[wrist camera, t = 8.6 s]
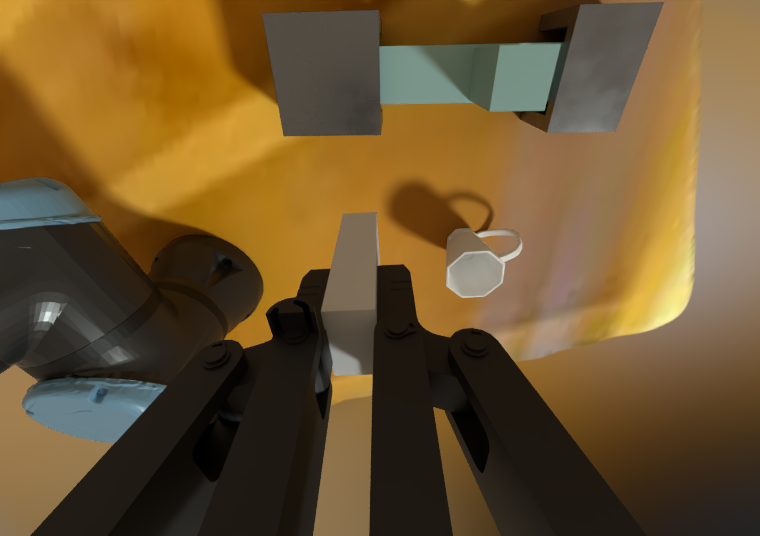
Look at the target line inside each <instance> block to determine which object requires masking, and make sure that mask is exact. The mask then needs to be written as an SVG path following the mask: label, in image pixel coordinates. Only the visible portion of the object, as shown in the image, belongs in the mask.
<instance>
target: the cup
mask: <svg viewBox="0 0 760 536" xmlns="http://www.w3.org/2000/svg"><path fill="white" fill-rule="evenodd" d="M493 235H512V236H514V237H516V238H518V244H517V246H516V247H515V249H514V250H512V251H510V252H507V253H503V254H499V255H497V254H496V253H495V252H494V251H493V250H492V249H491V248H490V246H489V245H487V244H486V243H485V242H484V241H483V240H482V239H480V238H482V237H486V236H493ZM521 250H522V241H521V237H520V235H519V233H518V232H516V231H515V230H513V229H492V230H485V231H480V232H478V233H475V232H474V231H472V230H471V229H470V228H460V229H456V230H454V231H453V232H452V233H451V234H450V235H449V236H448V237H447V248H446V286H447V287H448V288H449V289H451V290H452V291H453V292H455V293H456V294H457V295H459V296H460V297H462V298H467V297H484V296H486V295H487V294H488V293H490V292H491V291H492V290H494V289H495V288H496V287H498V286H499V285H500V284H502V282H503V276H504V269H505V263H504V262H505V261H508V260H510V259H512V258H514V257H516V256H517V255H519V253H520V251H521Z"/></svg>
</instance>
